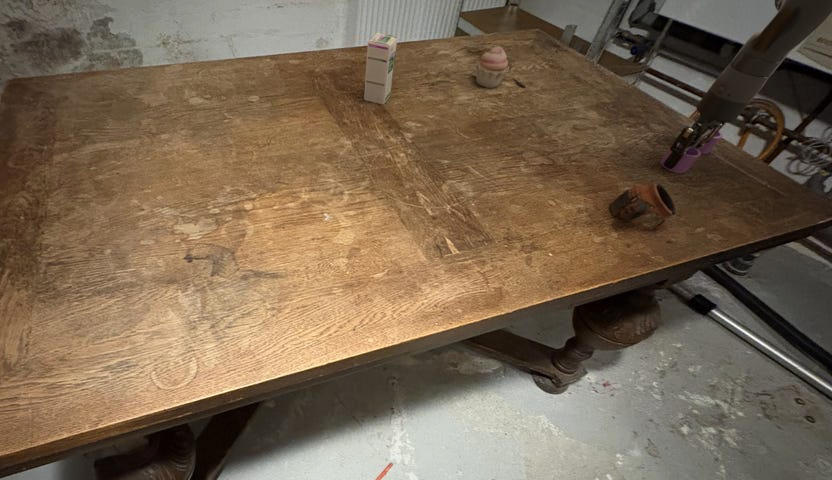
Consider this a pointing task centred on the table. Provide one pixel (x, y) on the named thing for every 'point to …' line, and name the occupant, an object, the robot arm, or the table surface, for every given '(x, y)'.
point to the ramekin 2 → (711, 143)
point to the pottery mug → (644, 203)
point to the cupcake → (492, 68)
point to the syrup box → (379, 68)
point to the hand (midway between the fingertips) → (675, 163)
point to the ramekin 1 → (682, 160)
